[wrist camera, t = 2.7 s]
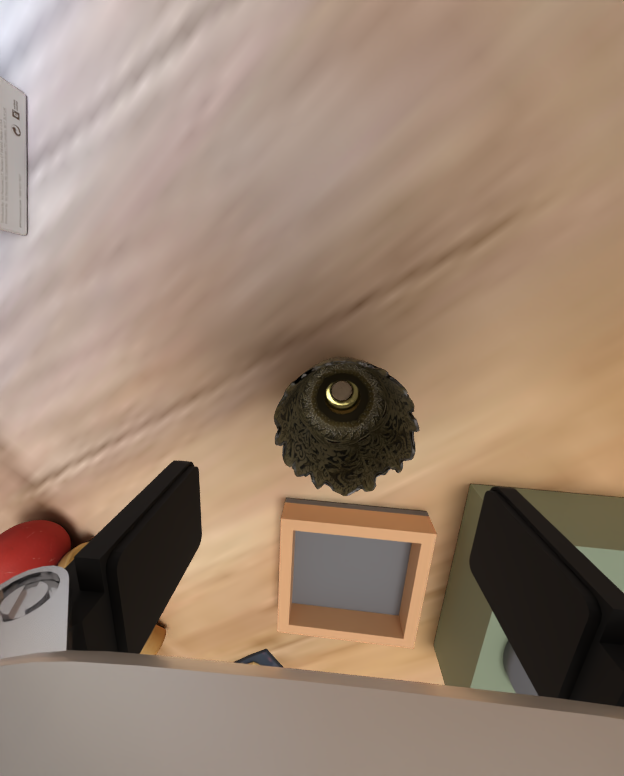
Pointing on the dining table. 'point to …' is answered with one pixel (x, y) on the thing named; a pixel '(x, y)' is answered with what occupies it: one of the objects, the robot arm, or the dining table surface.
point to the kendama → (48, 558)
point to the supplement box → (13, 159)
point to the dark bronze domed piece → (345, 425)
